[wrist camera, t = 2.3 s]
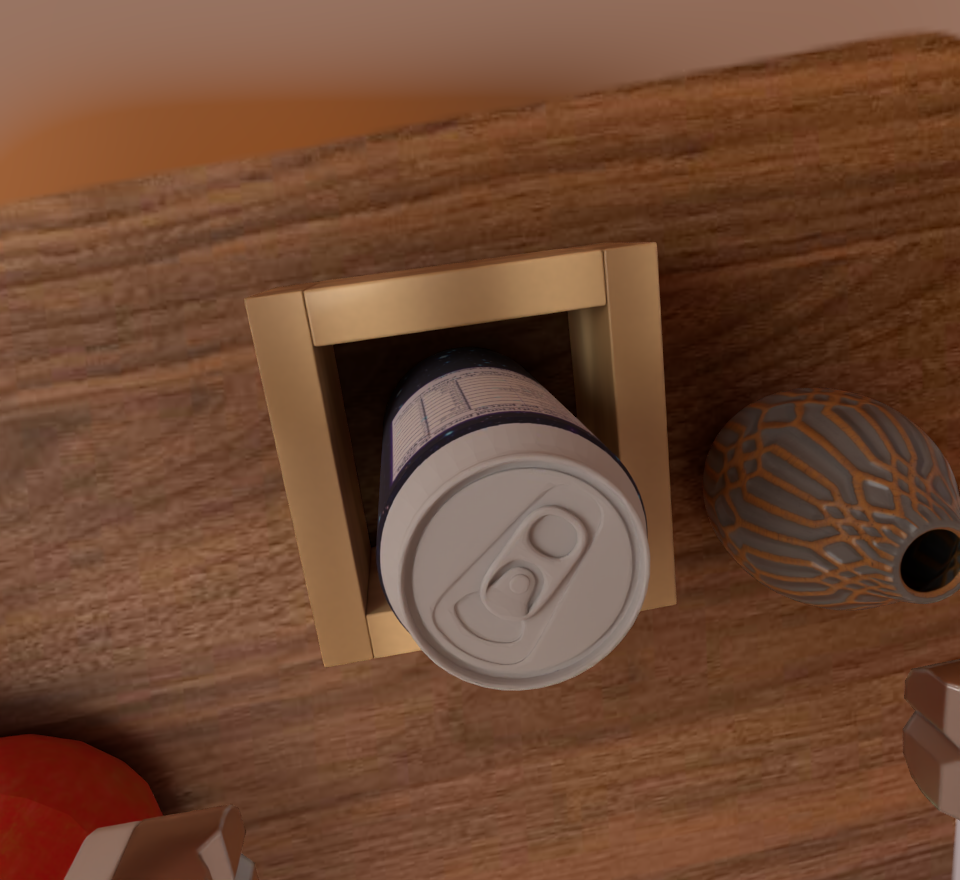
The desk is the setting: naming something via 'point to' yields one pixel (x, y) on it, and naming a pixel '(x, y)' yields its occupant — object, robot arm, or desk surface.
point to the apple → (61, 802)
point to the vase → (835, 501)
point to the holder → (438, 305)
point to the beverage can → (504, 525)
